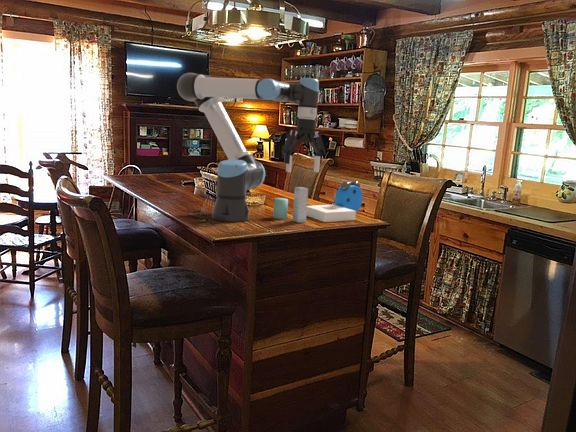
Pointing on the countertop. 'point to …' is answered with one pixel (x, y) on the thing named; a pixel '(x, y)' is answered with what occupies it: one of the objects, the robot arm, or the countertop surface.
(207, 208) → the countertop surface
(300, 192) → the square bit
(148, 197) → the countertop surface
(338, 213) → the bore block
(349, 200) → the alarm clock
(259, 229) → the countertop surface
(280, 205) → the pale teal capsule
